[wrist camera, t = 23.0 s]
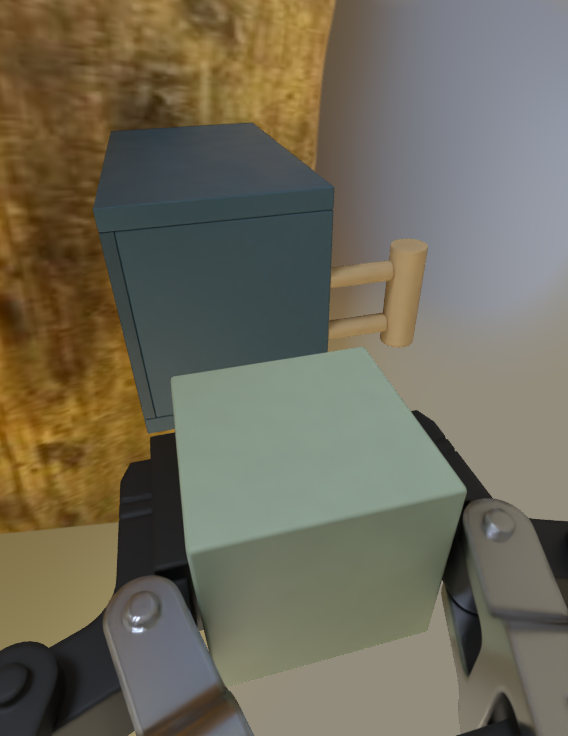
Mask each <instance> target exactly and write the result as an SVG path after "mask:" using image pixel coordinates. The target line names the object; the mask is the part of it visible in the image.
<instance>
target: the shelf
mask: <svg viewBox="0 0 568 736" xmlns="http://www.w3.org/2000/svg"><path fill="white" fill-rule="evenodd" d="M333 205H334V187H333V186H332V185H331V184H329V183H328V182H327V181H325V179H323V178H322V177H321V176H319V175H318V174H317V173H316V172H314V171H313V170H312V169H311V168H309V167H308V166H307V165H306V164H304V163H303V162H302V161H301V160H299V159H298V158H297V157H295V156H294V155H293V154H292V153H290V152H289V151H288V150H287V149H285V148H284V147H283V146H282V145H280V144H279V143H278V142H276V141H275V140H274V139H273V138H271V137H270V136H269V135H268V134H266V133H265V132H264V131H263V130H261V129H260V128H259V127H258V126H256V125H255V124H254V123H238V124H222V125H205V126H189V127H172V128H156V129H139V130H123V131H111V133H110V137H109V142H108V146H107V150H106V155H105V159H104V163H103V168H102V172H101V176H100V181H99V185H98V189H97V194H96V198H95V203H94V207H93V212H94V216H95V220H96V224H97V229H98V231H99V237H100V241H101V245H102V249H103V253H104V257H105V261H106V265H107V269H108V274H109V278H110V282H111V286H112V290H113V294H114V298H115V302H116V306H117V310H118V314H119V318H120V322H121V326H122V330H123V334H124V338H125V342H126V347H127V351H128V355H129V359H130V363H131V367H132V371H133V375H134V379H135V383H136V387H137V391H138V395H139V399H140V403H141V407H142V411H143V415H144V419H145V424H146V428H147V432H148V433H154V432H160V431H165V430H171V429H175V425H174V414H173V402H172V391H171V378H172V377H174V376H180V375H186V374H193V373H199V372H205V371H212V370H218V369H225V368H231V367H237V366H244V365H250V364H256V363H263V362H269V361H275V360H282V359H288V358H295V357H301V356H307V355H314V354H320V353H326V352H327V350H328V340H330V339H337V338H343V337H350V336H357V335H363V334H370V333H376V332H381V333H380V338H381V341H382V342H383V343H384V344H386V345H388V346H391V347H406V346H408V345H410V344H411V343H412V341H413V336H414V330H415V324H416V318H417V311H418V305H419V299H420V293H421V286H422V280H423V275H424V268H425V262H426V256H427V250H428V246H427V244H426V243H424V242H422V241H420V240H416V239H399V240H395V241H393V242H392V243H391V247H390V256H389V261H380V262H373V263H364V264H357V265H348V266H340V267H331V253H332V252H331V251H332V229H333V228H332V227H333V210H332V209H333ZM382 281H386V290H385V299H384V308H383V313H378V314H371V315H364V316H358V317H351V318H344V319H337V320H330V321H329V301H330V288H336V287H344V286H352V285H359V284H367V283H375V282H382Z"/></svg>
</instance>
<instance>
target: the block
mask: <svg viewBox="0 0 568 736" xmlns="http://www.w3.org/2000/svg"><path fill="white" fill-rule="evenodd" d="M171 391H172V402H173V414H174V425H175V436H176V447H177V458H178V470H179V481H180V492H181V503H182V514H183V525H184V537H185V548H186V555H187V559H188V563H189V567H190V572H191V576H192V580H193V585H194V589H195V593H196V598H197V602H198V606H199V611H200V615H201V619H202V623H203V628H204V632H205V636H206V641H207V645H208V649H209V653H210V655H211V657H212V659H213V661H214V663H215V666H216V668H217V670H218V672H219V674H220V676H221V678H222V680H223V682H224V684H225V686H226V687H229V686H233V685H236V684H240V683H243V682H247V681H250V680H254V679H258V678H261V677H264V676H268V675H272V674H276V673H279V672H283V671H286V670H290V669H293V668H297V667H301V666H304V665H308V664H311V663H315V662H318V661H322V660H325V659H329V658H333V657H336V656H340V655H344V654H347V653H351V652H354V651H358V650H361V649H364V648H369V647H372V646H375V645H379V644H383V643H386V642H390V641H393V640H397V639H400V638H404V637H408V636H411V635H415V634H419V633H422V632H425V631H427V629H428V626H429V623H430V619H431V615H432V612H433V609H434V605H435V602H436V598H437V595H438V591H439V587H440V584H441V580H442V577H443V574H444V570H445V567H446V563H447V560H448V556H449V553H450V549H451V546H452V542H453V539H454V535H455V532H456V528H457V525H458V521H459V518H460V514H461V511H462V507H463V504H464V500H465V497H466V494H467V490H466V487H465V485H464V484H463V482H462V481H461V480H460V478H459V477H458V476H457V474H456V473H455V471H454V470H453V469H452V467H451V466H450V465H449V463H448V462H447V460H446V459H445V458H444V456H443V455H442V454H441V452H440V451H439V449H438V448H437V447H436V445H435V444H434V442H433V441H432V440H431V438H430V437H429V436H428V434H427V433H426V431H425V430H424V429H423V427H422V426H421V425H420V423H419V422H418V420H417V419H416V418H415V416H414V415H413V414H412V412H411V411H410V409H409V408H408V407H407V405H406V404H405V403H404V401H403V400H402V398H401V397H400V396H399V394H398V393H397V391H396V390H395V389H394V387H393V386H392V385H391V383H390V382H389V380H388V379H387V378H386V377H385V375H384V374H383V372H382V371H381V369H380V368H379V367H378V366H377V364H376V363H375V361H374V360H373V358H372V357H371V356H370V354H369V353H368V351H367V350H366V349H365V348H364V347H358V348H352V349H346V350H339V351H333V352H326V353H320V354H314V355H307V356H301V357H295V358H288V359H282V360H275V361H269V362H263V363H256V364H250V365H244V366H237V367H231V368H225V369H218V370H212V371H205V372H199V373H193V374H186V375H180V376H174V377H172V378H171Z"/></svg>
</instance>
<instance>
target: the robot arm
mask: <svg viewBox="0 0 568 736" xmlns="http://www.w3.org/2000/svg"><path fill="white" fill-rule="evenodd" d="M411 412H412V414H413V415H414V416H415V418H416V419H417V420H418V422H419V423H420V425H421V426H422V427H423V429H424V430H425V431H426V433H427V434H428V436H429V437H430V438H431V440H432V441H433V442H434V444H435V445H436V447H437V448H438V449H439V451H440V452H441V454H442V455H443V456H444V458H445V459H446V460H447V462H448V463H449V465H450V466H451V467H452V469H453V470H454V471H455V473H456V474H457V476H458V477H459V478H460V480H461V481H462V482H463V484H464V485H465V487H466V490H467V494H466V497H465V500H464V504H463V507H462V511H461V514H460V518H459V521H458V525H457V528H456V532H455V535H454V539H453V542H452V546H451V549H450V553H449V556H448V560H447V563H446V567H445V570H444V574H443V577H442V581H443V585H442V590H441V595H442V601H443V606H444V612H445V616H446V621H447V626H448V631H449V637H450V641H451V647H452V652H453V657H454V662H455V667H456V672H457V677H458V684H459V702H458V703H459V705H458V710H459V724H460V731H461V734H460V735H457V736H568V521H553V520H540V519H531V518H528V517H527V516H526V515H525V514H524V513H523V512H521V510H519V509H518V508H516V507H515V506H513V505H511V504H509V503H507V502H504V501H501V500H498V499H493V498H492V497H491V495H490V494H489V493H488V492H487V490H486V489H485V488H484V486H483V485H482V484H481V482H480V481H479V480H478V479H477V477H476V476H475V475H474V473H473V472H472V471H471V469H470V468H469V467H468V465H467V464H466V463H465V462H464V460H463V459H462V458H461V456H460V455H459V454H458V452H457V451H456V452H455V450H454V447H453V446H452V444H451V443H450V442H449V441H448V439H446V438H445V435H444V434H443V433H442V431H441V430H440V429H439V427H438V426H437V425H436V424H435V422H434V421H432V420H431V419H429V418H428V417H426V416H425V415H423V414H422V413H420V412H419V411H417V410H415V411H411ZM150 452H151V459H149V460H144V461H139V462H133V463H130V465H129V467H128V469H127V471H126V472H125V474H124V476H123V478H122V480H121V483H120V507H119V519H120V521H119V532H118V554H117V578H116V587H115V590H114V593H113V596H112V598H111V599H110V601H109V603H108V605H107V606H106V608H105V609H104V610H103V612H102V613H101V614H100V615H99V616H98V617H97V618H96V619H95V620H94V621H93V622H91V623H90V624H89V625H88V626H86V627H85V628H83V629H81V630H80V631H78V632H76V633H74V634H73V635H71V636H69V637H67V638H66V639H64V640H62V641H60V642H58V643H57V644H55V645H53V646H51V647H50V648H48V647H47V646H45V645H44V644H41V643H38V642H31V641H29V642H21V643H16V644H14V645H11V646H9V647H6V648H5V649H3V650H1V651H0V736H128V735H129V734H131V733H132V732H133V731H135V732H136V736H254V734H253V732H252V730H251V728H250V726H249V725H248V722H247V720H246V718H245V716H244V714H243V712H242V710H241V708H240V706H239V704H238V702H237V700H236V699H235V697H234V695H233V694H232V693H231V692H230V691H229V690H228V689H227V687H226V686H225V684H224V682H223V680H222V678H221V676H220V674H219V672H218V670H217V668H216V666H215V663H214V661H213V659H212V657H211V655H210V653H209V651H208V649H207V647H206V645H205V643H204V640H203V639H202V636H201V634H200V632H199V631H200V630H204V628H203V623H202V619H201V615H200V611H199V606H198V602H197V598H196V593H195V589H194V585H193V580H192V576H191V572H190V567H189V563H188V559H187V555H186V548H185V537H184V525H183V514H182V503H181V492H180V481H179V470H178V458H177V447H176V436H175V433H170V434H164V435H158V436H153V437H151V438H150Z"/></svg>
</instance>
